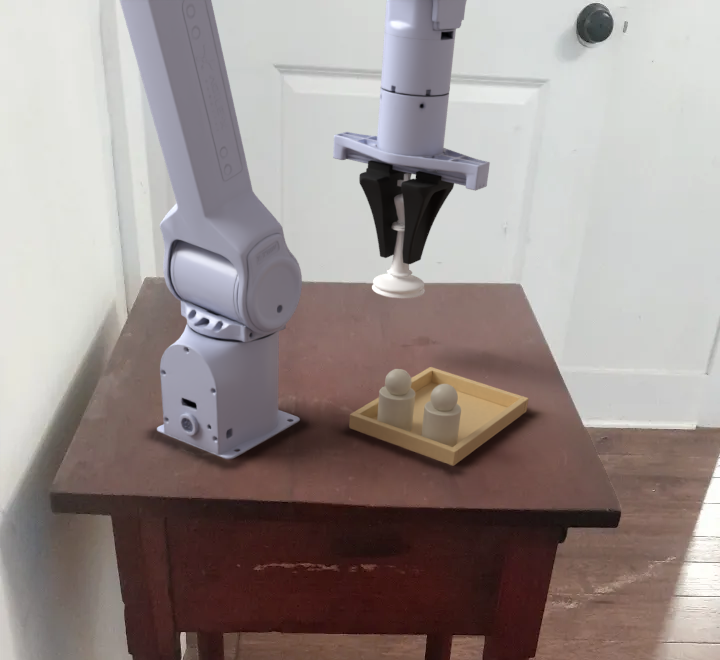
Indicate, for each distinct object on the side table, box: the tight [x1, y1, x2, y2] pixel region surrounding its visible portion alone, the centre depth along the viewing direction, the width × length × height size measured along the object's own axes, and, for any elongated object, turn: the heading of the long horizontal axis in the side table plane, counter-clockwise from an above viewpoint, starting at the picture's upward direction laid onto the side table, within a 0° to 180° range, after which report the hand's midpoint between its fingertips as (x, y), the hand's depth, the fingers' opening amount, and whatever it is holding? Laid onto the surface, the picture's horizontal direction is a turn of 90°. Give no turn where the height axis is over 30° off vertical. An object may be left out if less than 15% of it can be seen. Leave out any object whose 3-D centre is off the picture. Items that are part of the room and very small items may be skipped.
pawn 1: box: [377, 368, 415, 432], centre depth 82 cm, size 3×3×5 cm
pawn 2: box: [421, 384, 461, 447], centre depth 80 cm, size 3×3×5 cm
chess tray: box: [348, 366, 530, 466], centre depth 85 cm, size 13×10×2 cm
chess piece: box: [371, 173, 426, 300], centre depth 89 cm, size 5×5×10 cm
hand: (400, 258), depth 90 cm, fingers closed on chess piece
